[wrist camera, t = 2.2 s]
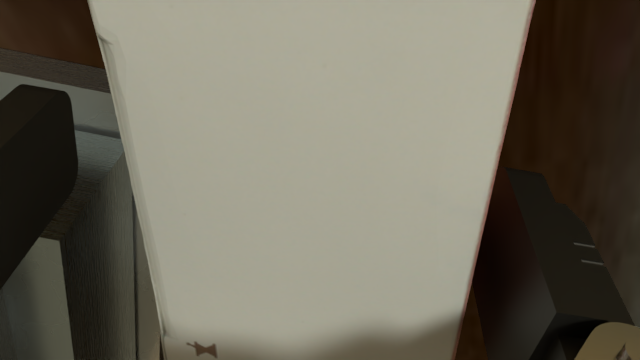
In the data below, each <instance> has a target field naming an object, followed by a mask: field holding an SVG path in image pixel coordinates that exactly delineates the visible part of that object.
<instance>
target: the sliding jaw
mask: <svg viewBox="0 0 640 360" xmlns="http://www.w3.org/2000/svg"><path fill="white" fill-rule="evenodd" d="M75 137H76V146H77V155H78V175H77V179H76V183H75V186H74V188H73V191H72V193H71V194H70V196H69V197H68V198H67V200H66V201H65V202H64V204H63V205H62V207H61V208H60V209H59V211H58V212H57V213H56V215H55V216H54V217H53V219H52V220H51V222H50V223H49V224H48V226H47V227H46V228H45V230H44V231H43V232H42V234H41V235H40V237H39V238H38V239H37V241H36V242H35V243H34V245H33V246H32V247H31V249H30V250H29V252H28V253H27V254H26V256H25V257H24V258H23V260H22V261H21V262H20V264H19V265H18V267H17V268H16V269H15V271H14V272H13V273H12V275H11V276H10V277H9V279H8V280H7V282H6V283H5V284H4V286H3V287H2V288H1V290H0V360H136V347H135V301H134V256H133V210H132V186H131V181H130V175H129V170H128V166H127V162H126V157H125V152H124V148H123V144H122V140H121V139H117V138H112V137H107V136H102V135H97V134H92V133H87V132H82V131H77V130H75Z"/></svg>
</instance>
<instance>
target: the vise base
mask: <svg viewBox="0 0 640 360" xmlns="http://www.w3.org/2000/svg"><path fill="white" fill-rule="evenodd" d="M21 84H27V85H32V86H38V87H44V88H50V89H56V90H62V91H65V92H67V93H68V95H69V97H70V99H71V104H72V111H73V120H74V129H75V130H77V131H82V132H87V133H92V134H97V135H102V136H107V137H112V138H117V139H121V135H120V131H119V126H118V121H117V117H116V112H115V108H114V103H113V99H112V94H111V90H110V86H109V81H108V77H107V73H106V70H105V69H100V68H95V67H90V66H85V65H81V64H76V63H71V62H66V61H61V60H56V59H51V58H46V57H41V56H36V55H31V54H26V53H21V52H16V51H11V50H6V49H1V48H0V100H1V99H3V98H4V97H5V96H6V95H7V94H8V93H10V92H11V91H12V90H13V89H14V88H16V87H17V86H18V85H21ZM132 210H133V256H134V301H135V347H136V360H164V356H163V348H162V342H161V334H160V323H159V317H158V312H157V307H156V301H155V296H154V290H153V285H152V281H151V275H150V270H149V265H148V261H147V256H146V251H145V246H144V241H143V236H142V231H141V227H140V222H139V218H138V213H137V209H136V204H135V199H134V195H133V190H132Z"/></svg>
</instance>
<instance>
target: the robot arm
mask: <svg viewBox="0 0 640 360" xmlns="http://www.w3.org/2000/svg"><path fill="white" fill-rule="evenodd" d="M77 175H78V155H77V146H76V137H75V129H74V120H73V111H72V104H71V99H70V97H69V95H68V93H67V92H65V91H62V90H56V89H50V88H44V87H38V86H32V85H27V84H21V85H18V86H17V87H16V88H14V89H13V90H12V91H11V92H10V93H8V94H7V95H6V96H5V97H4V98H3V99H1V100H0V290H1V288H2V287H3V286H4V284H5V283H6V282H7V280H8V279H9V277H10V276H11V275H12V273H13V272H14V271H15V269H16V268H17V267H18V265H19V264H20V262H21V261H22V260H23V258H24V257H25V256H26V254H27V253H28V252H29V250H30V249H31V247H32V246H33V245H34V243H35V242H36V241H37V239H38V238H39V237H40V235H41V234H42V232H43V231H44V230H45V228H46V227H47V226H48V224H49V223H50V222H51V220H52V219H53V217H54V216H55V215H56V213H57V212H58V211H59V209H60V208H61V207H62V205H63V204H64V202H65V201H66V200H67V198H68V197H69V196H70V194H71V193H72V191H73V188H74V186H75V183H76V179H77ZM594 247H595V244H594V242H593V240H592V238H591V235H590V233H589V231H588V229H587V227H586V225H585V224H584V223H583V222H582V221H581V220H580V219H579V218H578V217H577V216H576V215H575V214H574V213H573V212H572V211H571V210H570V209H569V208H568V207H567V206H566V205H565V204H560V203H556V202H555V200H554V198H553V195H552V193H551V191H550V189H549V187H548V184H547V182H546V180H545V178H544V176H543V175H542V174H540V173H535V172H530V171H524V170H518V169H512V168H506V167H500V168H498V169H497V171H496V176H495V181H494V185H493V190H492V194H491V199H490V203H489V208H488V212H487V216H486V221H485V225H484V230H483V234H482V238H481V243H480V247H479V252H478V257H477V261H476V266H475V270H474V274H473V279H472V284H473V288H474V293H475V298H476V303H477V308H478V313H479V317H480V322H481V327H482V332H483V337H484V342H485V346H486V351H487V356H488V360H640V328H639V327H636V326H635V325H634V323H633V321H632V319H631V317H630V315H629V313H628V311H627V309H626V307H625V305H624V303H623V301H622V299H621V297H620V294H619V292H618V290H617V288H616V286H615V284H614V282H613V280H612V278H611V276H610V274H609V272H608V270H607V268H606V267H604V266H603V263H604V262H603V260H602V258H601V256H600V254H599V252H598V250H597V249H595V248H594Z"/></svg>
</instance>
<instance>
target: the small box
mask: <svg viewBox="0 0 640 360" xmlns="http://www.w3.org/2000/svg"><path fill="white" fill-rule="evenodd" d="M535 1H536V0H88V4H89V8H90V12H91V16H92V20H93V24H94V27H95V31H96V34H97V38H98V41H99V45H100V49H101V53H102V57H103V61H104V65H105V69H106V73H107V77H108V81H109V86H110V90H111V94H112V99H113V103H114V108H115V112H116V117H117V121H118V126H119V131H120V135H121V140H122V144H123V148H124V152H125V157H126V162H127V166H128V170H129V175H130V181H131V186H132V190H133V195H134V199H135V204H136V209H137V213H138V218H139V222H140V227H141V231H142V236H143V241H144V246H145V251H146V256H147V261H148V265H149V270H150V275H151V281H152V285H153V290H154V296H155V301H156V307H157V312H158V317H159V323H160V334H161V342H162V348H163V356H164V360H455V355H456V351H457V346H458V342H459V337H460V332H461V328H462V323H463V318H464V314H465V310H466V305H467V300H468V296H469V292H470V288H471V283H472V279H473V274H474V270H475V266H476V261H477V257H478V252H479V247H480V243H481V238H482V234H483V230H484V225H485V221H486V216H487V212H488V208H489V203H490V199H491V194H492V190H493V185H494V181H495V176H496V171H497V167H498V162H499V158H500V154H501V149H502V145H503V141H504V137H505V132H506V128H507V124H508V120H509V115H510V111H511V106H512V102H513V98H514V93H515V89H516V84H517V80H518V75H519V70H520V66H521V61H522V57H523V52H524V48H525V43H526V39H527V35H528V30H529V26H530V21H531V17H532V12H533V8H534V5H535Z"/></svg>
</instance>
